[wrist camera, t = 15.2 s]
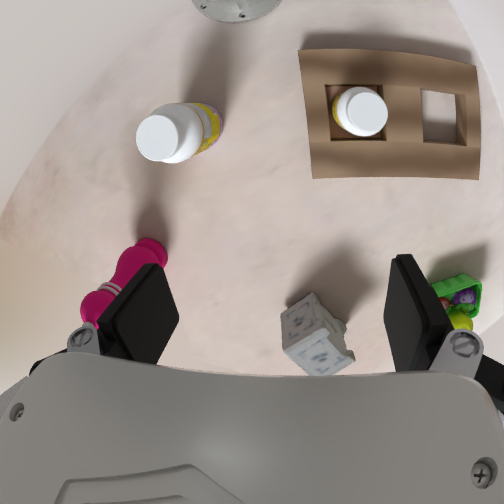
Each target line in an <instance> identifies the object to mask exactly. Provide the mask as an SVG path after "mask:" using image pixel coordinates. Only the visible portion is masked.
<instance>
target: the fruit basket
mask: <svg viewBox="0 0 504 504" xmlns="http://www.w3.org/2000/svg"><path fill="white" fill-rule="evenodd" d="M429 286H432V287H433V288H434V290H435V291H436V293H437V295H438V297H439V299H440V301H441V303H442V305H443V307H444V309H445V311H446V312H447V314H448V317H449V319H450V321H451V323H452V325H453V327H454V329H467V330H471V331H472V330H473V322H472V320H471V318H473V317H475V316H477V314H478V313H479V307H480V300H481V292H482V283H481V282H479V281H476V280H474V279H473V278H471V277H469V276H468V275H466V274H465V273H462V274H460V275H457V276H456V277H451V278H448V279H445V280H444V281H439V282H436V283H433V284H432V285H429Z"/></svg>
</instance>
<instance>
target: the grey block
mask: <svg viewBox="0 0 504 504" xmlns="http://www.w3.org/2000/svg"><path fill="white" fill-rule="evenodd" d="M280 317H281V327H282V328H281V329H282V348H283V351H284V353H285V354H286V355H287V356H288V357H289V358H291V359H292V360H293V361H294V362H295V363H297V364H298V366H300V367H301V368H302V369H303V370H304V371H305V372H306V373H307V374H308V375H309V376H326V375H333V374H335V373H337V372H339V371H340V370H342V369H344V368H345V367H347V366H348V365H350V364H351V363H353V362H355V356H354V353H353V351H352V350H347V349H346V344H345V341H344V333H345V332H346V330H347V328H346V325H345V324H344V323H343V322H342V321H341V320H340V319H336V318H334V317H333V316H332V315H331V314H330V312H328V310H327V309H325V308H324V307H323V306H322V305H321V304H320V300H319V298H318V297H317V296H316V295H315V294H314V293H311V294H309V295H307V296H306V297H305V298H304V299H302V300H301V301H299V302H297V303H296V304H295V305H293V306H292V307H290V308H288V309H287V310H285V311H284V312H283V313H281V316H280Z"/></svg>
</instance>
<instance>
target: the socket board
mask: <svg viewBox="0 0 504 504" xmlns="http://www.w3.org/2000/svg"><path fill="white" fill-rule="evenodd" d="M298 56H299V63H300V70H301V77H302V84H303V91H304V99H305V107H306V116H307V125H308V135H309V145H310V156H311V167H312V177H313V179H317V178H344V177H429V178H454V179H471V180H479V171H480V150H481V120H480V100H479V88H478V79H477V71H476V66H474V65H470V64H466V63H462V62H458V61H453V60H449V59H444V58H438V57H433V56H427V55H420V54H413V53H405V52H396V51H385V50H370V49H310V50H298ZM325 86H330V87H325ZM367 86H377V87H367ZM354 87H365V88H368V89H371V90H373V91H374V92H376V93H377V94H378V95H379V96H380V97H381V98H382V99H383V101H384V102H385V104H386V107H387V110H388V118H387V121H386V123H385V125H384V126H383V128H382V129H381V130H380V131H379V132H377V133H376V134H374V135H371V136H358V135H355V134H352V133H350V132H348V131H347V130H345V129H343V128H342V127H340V126H339V125H338V124H337V123H336V121H335V120H334V118H333V115H332V103H333V101H334V99H335V98H336V96H337V95H338V94H340V93H341V92H343V91H346V90H348V89H350V88H354ZM420 90H428V91H435V92H442V93H449V94H455V103H456V123H457V143H453V142H442V141H430V140H423V120H422V103H421V92H420ZM330 138H341V139H330Z"/></svg>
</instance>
